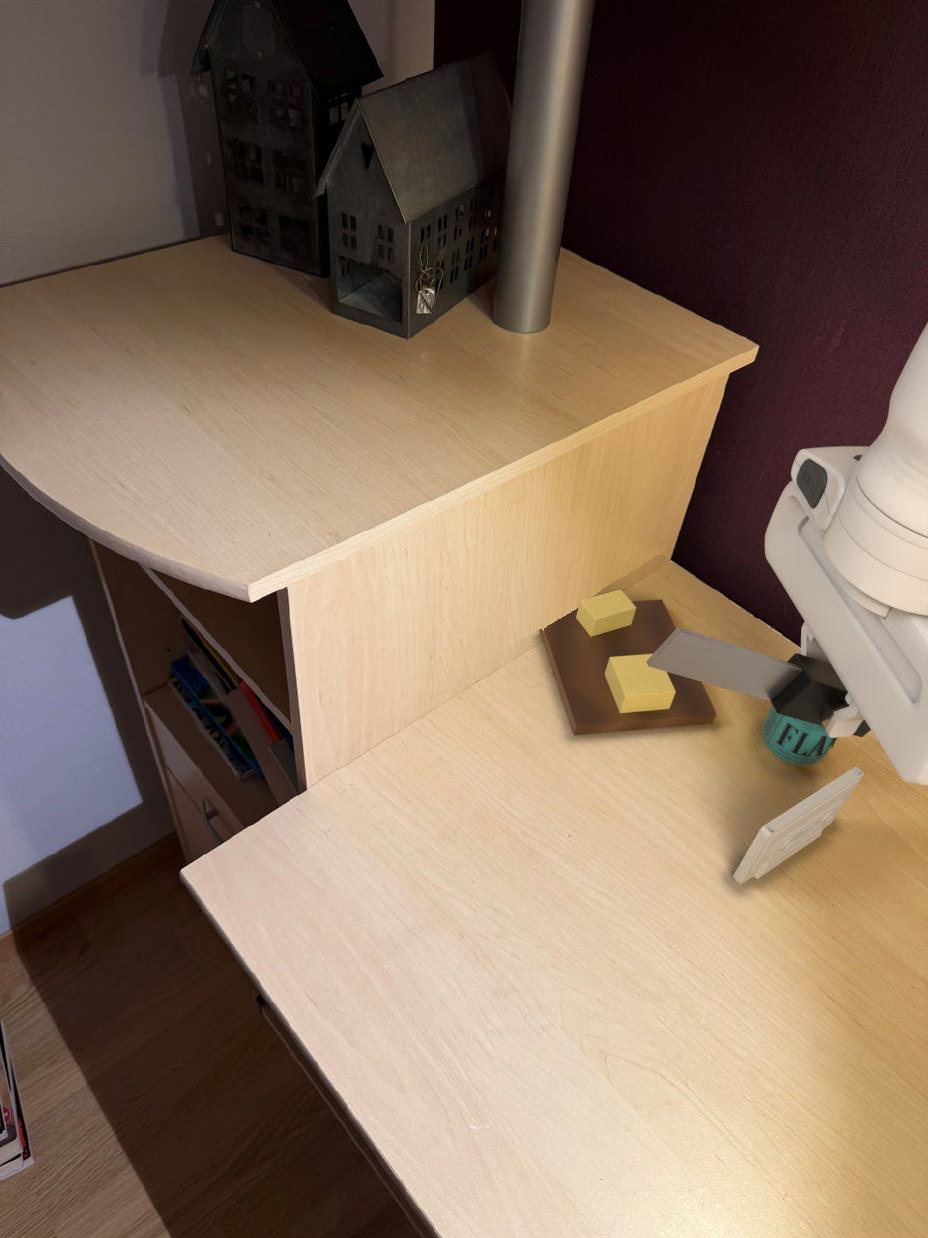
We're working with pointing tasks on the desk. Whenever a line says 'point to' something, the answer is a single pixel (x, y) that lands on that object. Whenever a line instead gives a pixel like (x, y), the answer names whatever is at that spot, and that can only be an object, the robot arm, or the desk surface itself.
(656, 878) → the desk surface
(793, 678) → the knife
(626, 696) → the butter stick
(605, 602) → the butter pat
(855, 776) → the cassette
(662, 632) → the board
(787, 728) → the beverage bottle
